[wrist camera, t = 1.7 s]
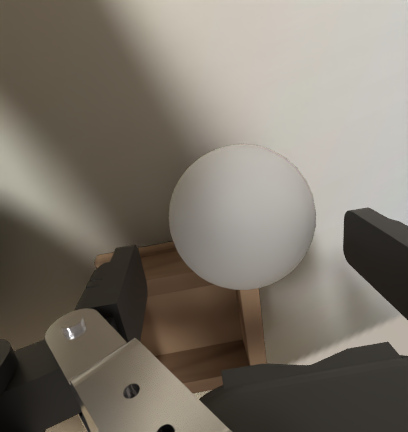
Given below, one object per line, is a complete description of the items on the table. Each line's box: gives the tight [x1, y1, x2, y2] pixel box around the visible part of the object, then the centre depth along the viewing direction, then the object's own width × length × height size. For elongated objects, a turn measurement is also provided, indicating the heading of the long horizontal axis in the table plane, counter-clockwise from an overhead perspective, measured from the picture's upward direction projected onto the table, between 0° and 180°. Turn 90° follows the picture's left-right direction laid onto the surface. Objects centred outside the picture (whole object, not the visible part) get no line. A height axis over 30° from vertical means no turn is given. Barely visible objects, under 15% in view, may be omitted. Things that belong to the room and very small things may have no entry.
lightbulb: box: [169, 144, 316, 290], centre depth 15 cm, size 6×6×11 cm
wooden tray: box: [94, 242, 267, 393], centre depth 22 cm, size 11×11×4 cm
